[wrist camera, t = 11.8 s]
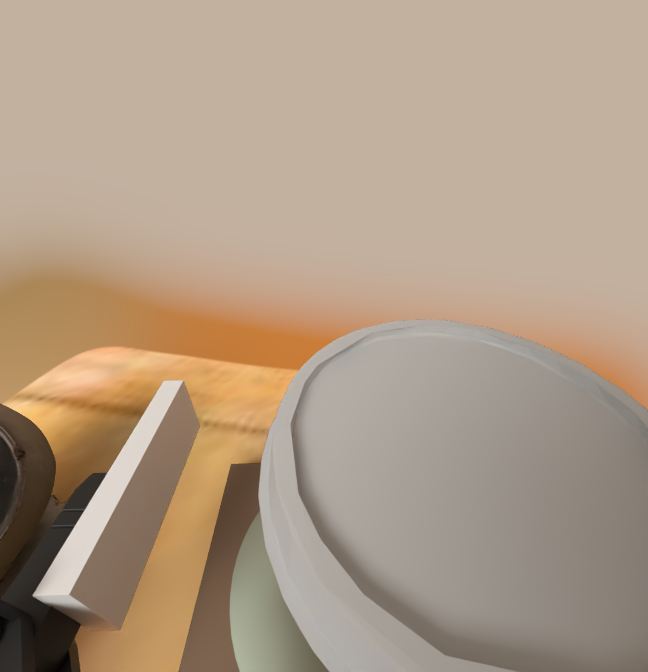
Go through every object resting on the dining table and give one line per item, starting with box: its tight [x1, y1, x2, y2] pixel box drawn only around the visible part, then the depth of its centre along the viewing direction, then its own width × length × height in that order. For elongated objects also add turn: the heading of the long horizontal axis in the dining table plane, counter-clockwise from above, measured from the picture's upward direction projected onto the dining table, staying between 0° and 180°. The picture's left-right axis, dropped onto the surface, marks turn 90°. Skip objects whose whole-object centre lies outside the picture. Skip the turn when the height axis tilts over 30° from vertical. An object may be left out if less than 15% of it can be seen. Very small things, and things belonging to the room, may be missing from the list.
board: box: [179, 463, 329, 672], centre depth 15 cm, size 14×12×2 cm
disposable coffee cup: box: [258, 319, 648, 672], centre depth 10 cm, size 10×10×12 cm
